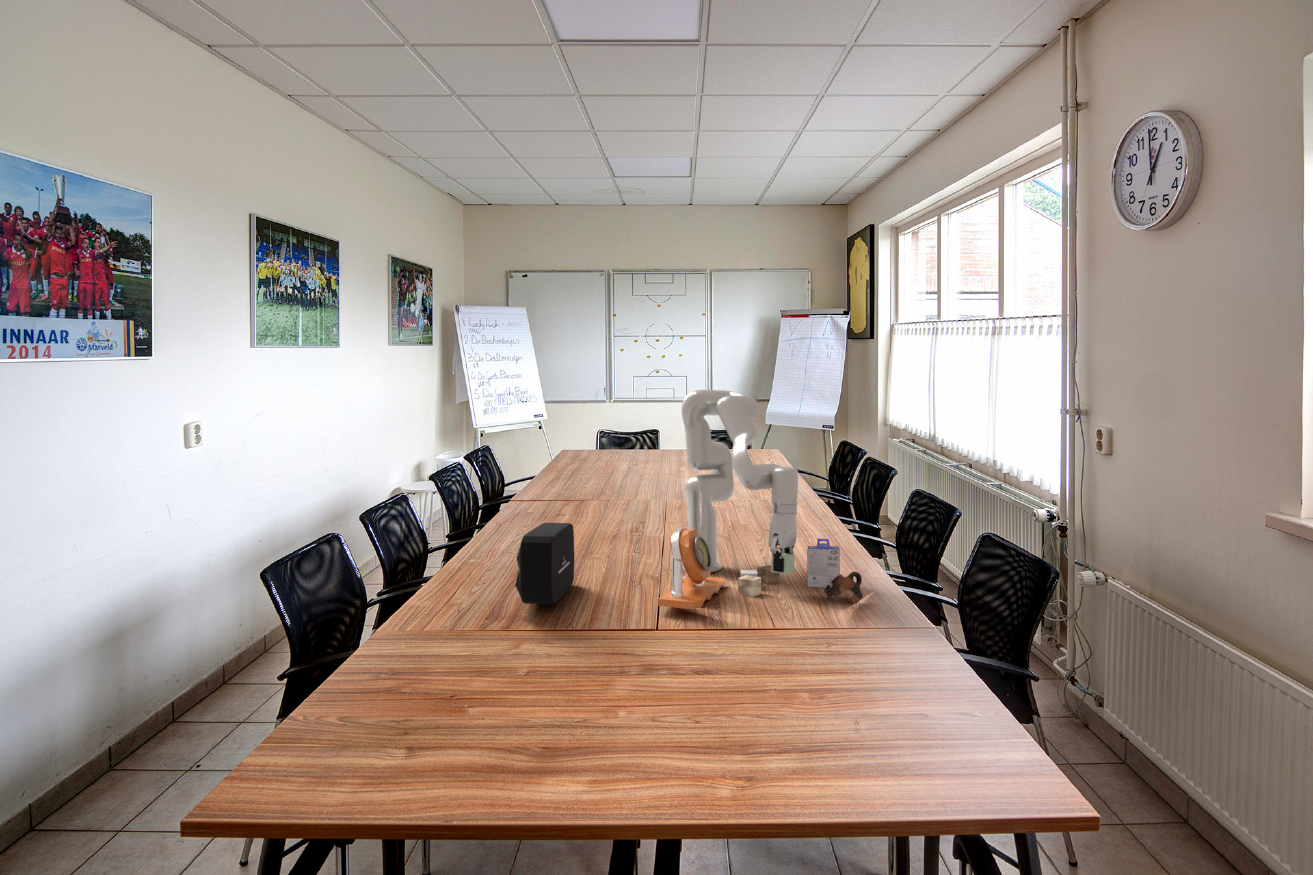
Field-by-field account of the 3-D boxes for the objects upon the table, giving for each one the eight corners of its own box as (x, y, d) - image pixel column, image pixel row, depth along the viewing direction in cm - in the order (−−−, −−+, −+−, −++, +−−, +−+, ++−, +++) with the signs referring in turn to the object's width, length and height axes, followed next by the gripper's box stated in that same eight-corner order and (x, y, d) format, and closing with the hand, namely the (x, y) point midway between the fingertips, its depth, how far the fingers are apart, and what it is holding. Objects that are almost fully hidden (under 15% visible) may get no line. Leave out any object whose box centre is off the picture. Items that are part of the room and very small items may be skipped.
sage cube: (771, 571, 209) (771, 555, 209) (778, 568, 213) (779, 552, 213) (786, 574, 206) (787, 557, 206) (794, 571, 210) (794, 554, 210)
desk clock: (656, 607, 197) (655, 535, 196) (690, 582, 225) (690, 519, 224) (698, 611, 192) (698, 537, 192) (728, 586, 220) (727, 521, 220)
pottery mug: (851, 612, 196) (830, 590, 197) (837, 616, 205) (816, 596, 206) (876, 581, 201) (854, 561, 202) (861, 587, 209) (840, 567, 211)
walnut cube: (756, 582, 225) (757, 566, 225) (768, 580, 228) (768, 564, 228) (767, 585, 221) (767, 569, 221) (779, 583, 224) (779, 567, 224)
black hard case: (552, 609, 195) (551, 537, 194) (508, 608, 196) (507, 536, 196) (575, 582, 225) (574, 520, 224) (537, 582, 226) (536, 520, 226)
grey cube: (741, 589, 216) (740, 573, 216) (740, 585, 221) (740, 569, 221) (757, 589, 216) (757, 573, 215) (756, 585, 221) (756, 570, 220)
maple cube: (738, 594, 210) (738, 578, 210) (746, 591, 214) (746, 575, 214) (753, 597, 207) (753, 580, 207) (761, 593, 211) (761, 577, 211)
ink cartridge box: (839, 584, 222) (839, 538, 221) (840, 588, 216) (840, 541, 216) (807, 583, 224) (807, 537, 223) (807, 587, 218) (807, 540, 218)
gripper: (785, 504, 217) (783, 562, 218) (759, 510, 204) (757, 573, 205) (808, 506, 213) (806, 566, 214) (783, 513, 199) (781, 577, 200)
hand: (782, 568), depth 209 cm, fingers closed on sage cube, 5 cm apart
